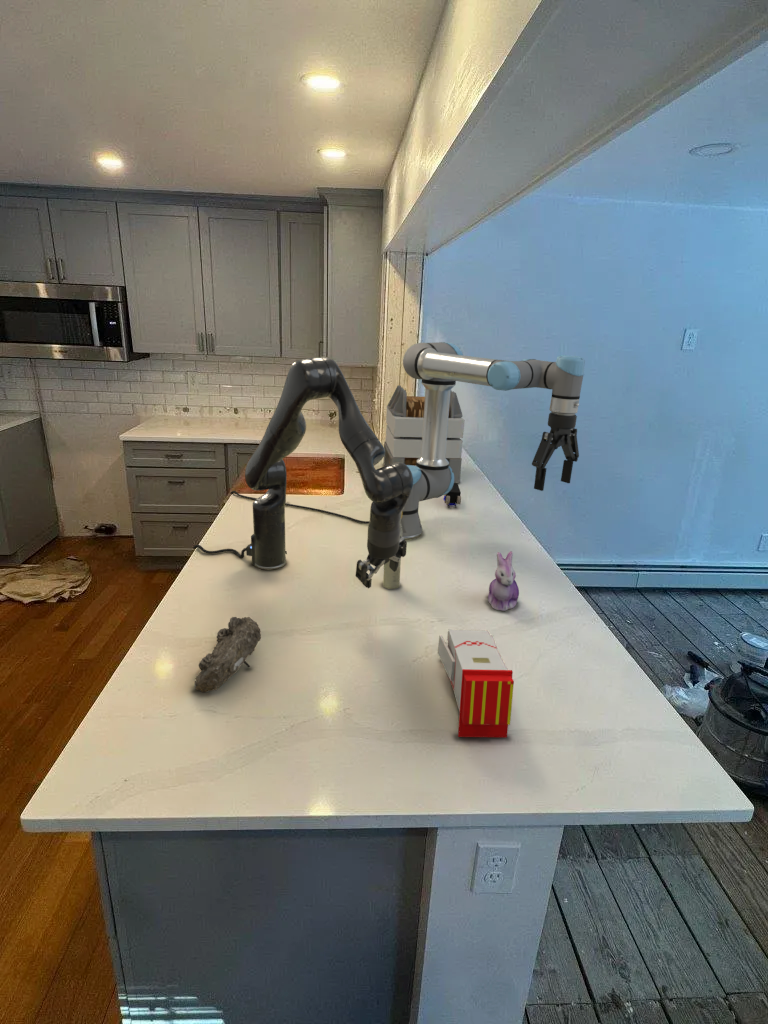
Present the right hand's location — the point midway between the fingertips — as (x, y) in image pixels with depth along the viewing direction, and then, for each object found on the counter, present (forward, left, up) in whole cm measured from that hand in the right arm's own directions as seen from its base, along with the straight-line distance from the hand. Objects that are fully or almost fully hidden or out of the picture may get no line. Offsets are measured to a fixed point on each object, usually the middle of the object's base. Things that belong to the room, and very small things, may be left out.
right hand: (552, 485), depth 166 cm
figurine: (+6, -25, -28) cm, 38 cm away
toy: (+26, -62, -28) cm, 72 cm away
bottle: (-20, -43, -28) cm, 55 cm away
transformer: (-101, +46, -28) cm, 115 cm away
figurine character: (-60, +25, -28) cm, 71 cm away
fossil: (-12, -96, -28) cm, 101 cm away
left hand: (-10, -57, -17) cm, 60 cm away
